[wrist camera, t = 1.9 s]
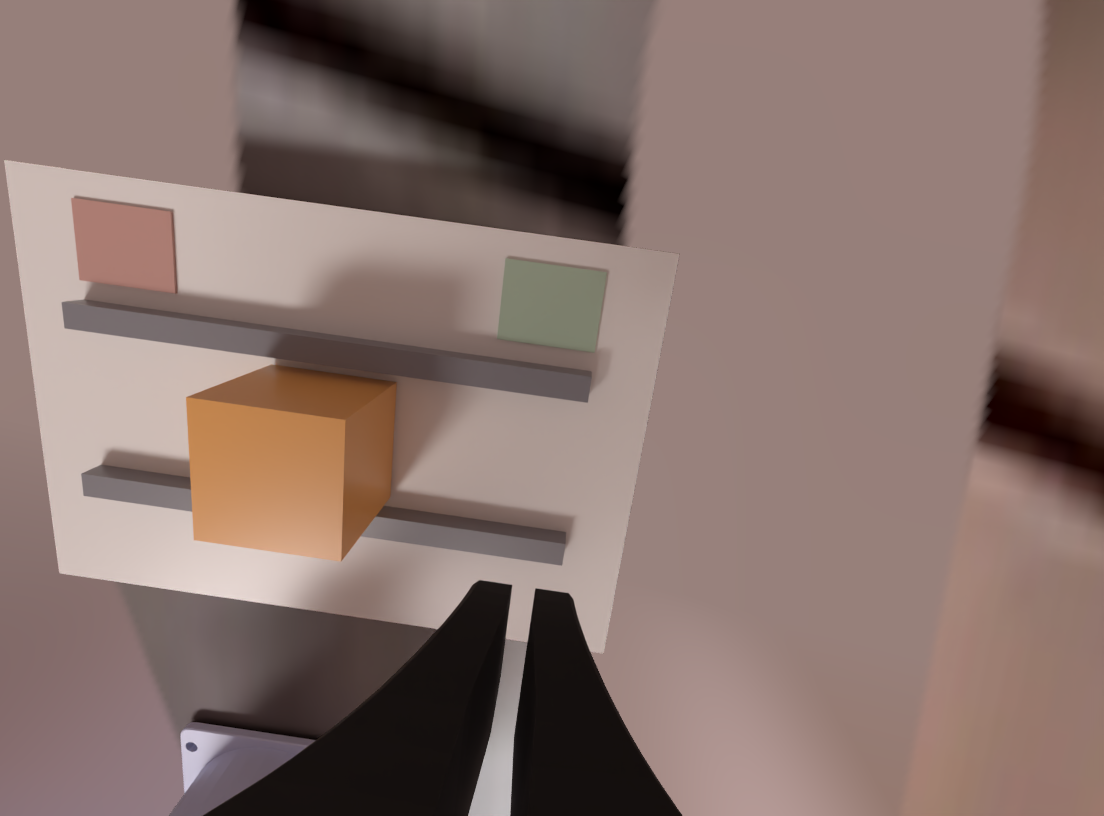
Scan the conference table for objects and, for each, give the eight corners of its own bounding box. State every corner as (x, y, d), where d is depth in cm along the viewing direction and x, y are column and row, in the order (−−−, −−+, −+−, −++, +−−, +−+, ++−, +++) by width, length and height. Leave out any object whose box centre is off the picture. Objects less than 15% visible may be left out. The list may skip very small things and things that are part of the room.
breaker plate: (601, 618, 22) (604, 669, 19) (104, 545, 22) (38, 585, 20) (669, 252, 18) (684, 254, 15) (64, 168, 18) (-25, 155, 16)
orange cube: (390, 497, 19) (340, 561, 15) (272, 480, 19) (193, 540, 15) (396, 381, 18) (345, 420, 14) (271, 364, 18) (186, 397, 14)
